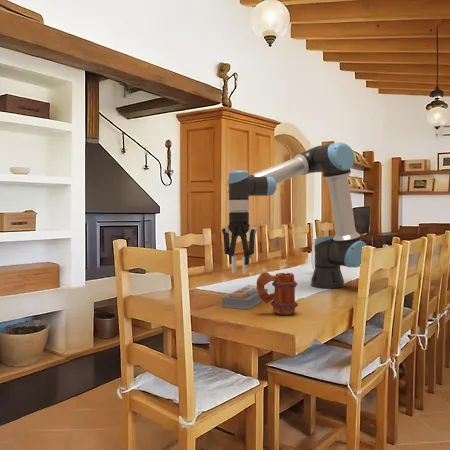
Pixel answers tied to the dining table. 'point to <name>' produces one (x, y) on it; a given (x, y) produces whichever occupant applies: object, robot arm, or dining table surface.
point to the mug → (279, 292)
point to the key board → (242, 301)
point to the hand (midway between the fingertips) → (239, 272)
